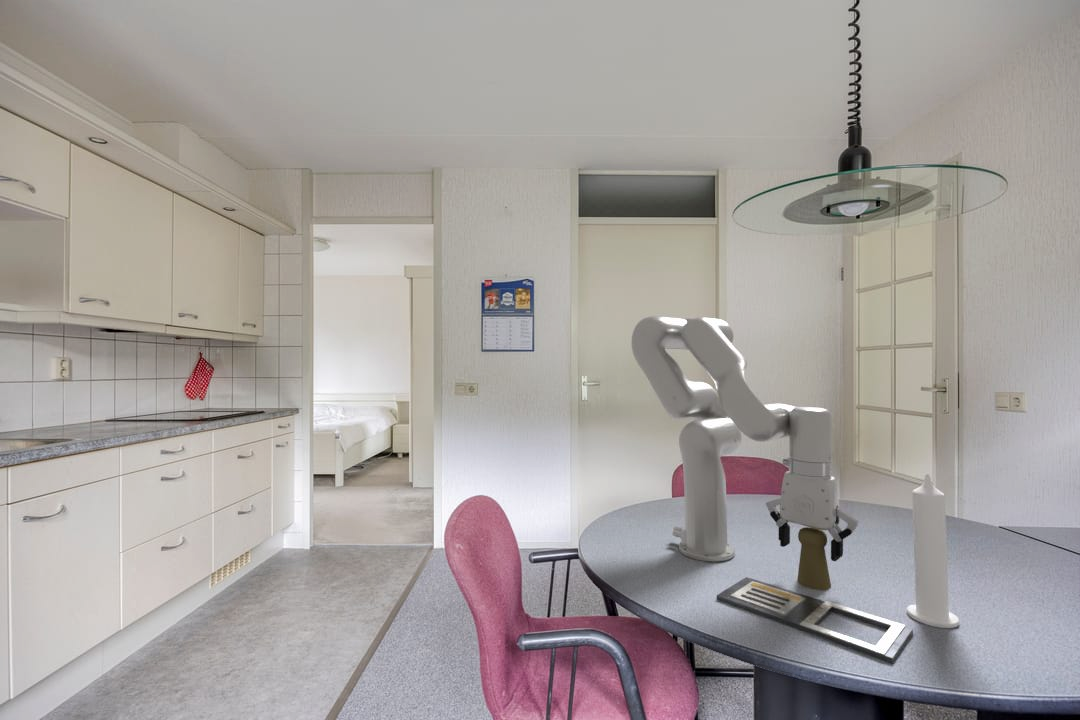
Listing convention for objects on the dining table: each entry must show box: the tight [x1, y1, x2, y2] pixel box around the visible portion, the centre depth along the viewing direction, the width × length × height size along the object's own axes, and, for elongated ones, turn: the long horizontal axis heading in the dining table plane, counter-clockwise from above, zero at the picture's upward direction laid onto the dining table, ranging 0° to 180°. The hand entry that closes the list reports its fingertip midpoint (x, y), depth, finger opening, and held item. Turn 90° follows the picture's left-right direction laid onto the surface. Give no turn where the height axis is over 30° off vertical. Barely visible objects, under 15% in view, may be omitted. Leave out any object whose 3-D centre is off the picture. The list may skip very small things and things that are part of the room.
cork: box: [796, 526, 832, 591], centre depth 100 cm, size 6×6×11 cm
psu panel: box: [716, 576, 914, 664], centre depth 87 cm, size 28×12×1 cm, turn 41°
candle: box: [906, 473, 960, 629], centre depth 86 cm, size 7×7×25 cm
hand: (809, 551), depth 101 cm, fingers open, 9 cm apart
